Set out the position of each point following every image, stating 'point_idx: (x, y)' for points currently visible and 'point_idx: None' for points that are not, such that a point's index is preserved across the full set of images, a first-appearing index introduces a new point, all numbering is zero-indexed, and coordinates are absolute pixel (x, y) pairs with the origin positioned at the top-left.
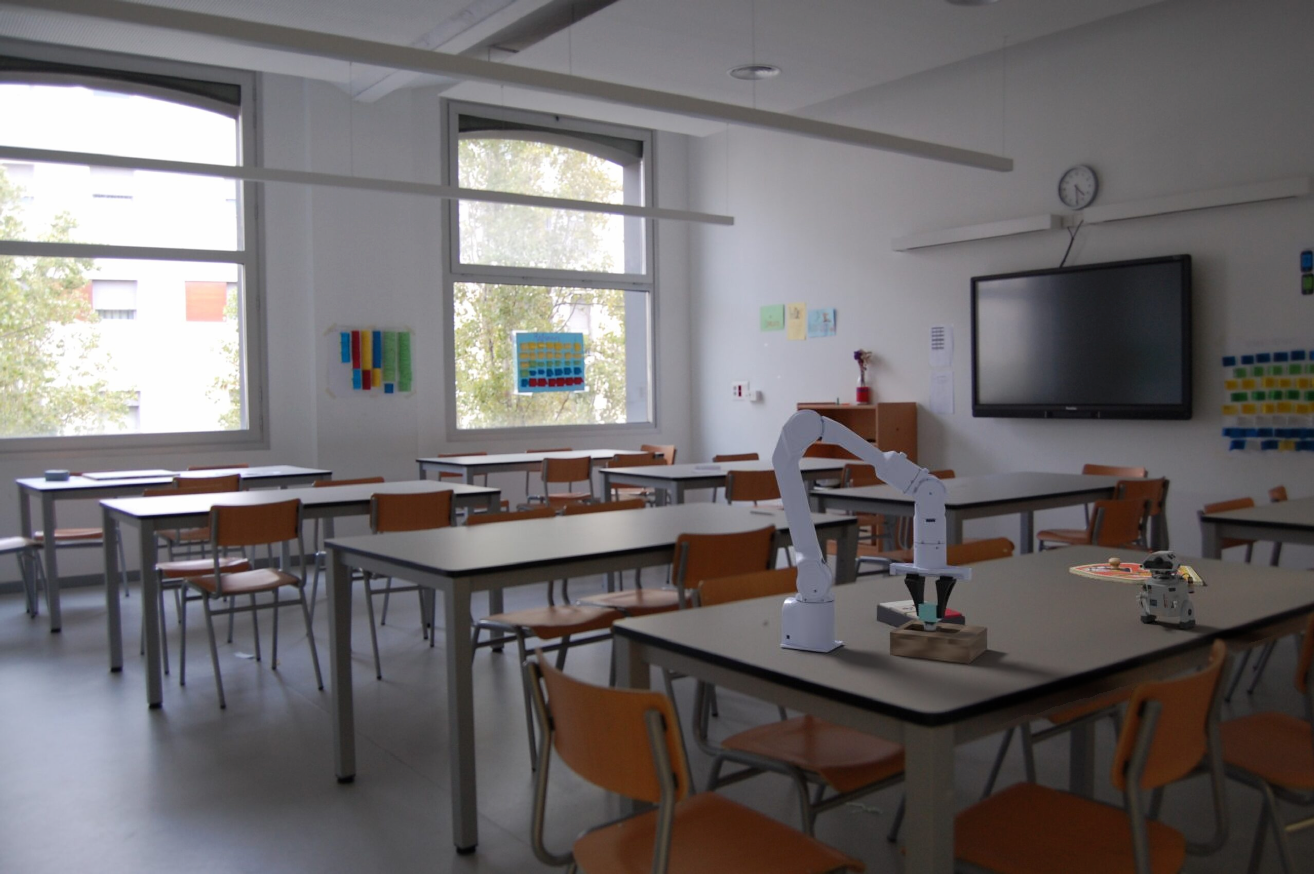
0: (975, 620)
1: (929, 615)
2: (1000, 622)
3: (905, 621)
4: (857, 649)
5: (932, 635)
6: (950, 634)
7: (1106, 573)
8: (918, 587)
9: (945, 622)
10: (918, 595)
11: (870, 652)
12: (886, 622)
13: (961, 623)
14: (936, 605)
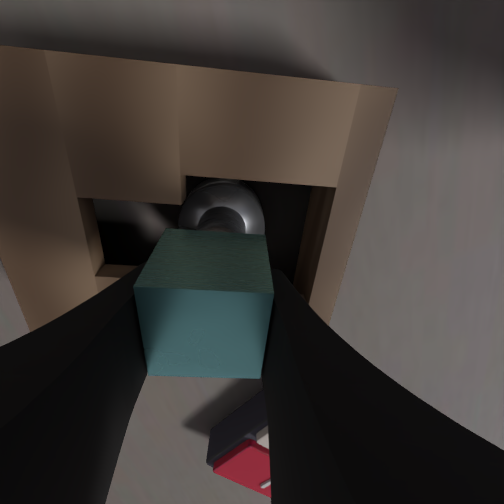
0: (213, 480)
1: (199, 248)
2: (165, 481)
3: None
4: (481, 126)
5: (157, 100)
6: (86, 166)
7: None
8: (302, 443)
9: (243, 427)
10: (288, 359)
11: (431, 95)
12: None
13: (213, 441)
14: (135, 293)
